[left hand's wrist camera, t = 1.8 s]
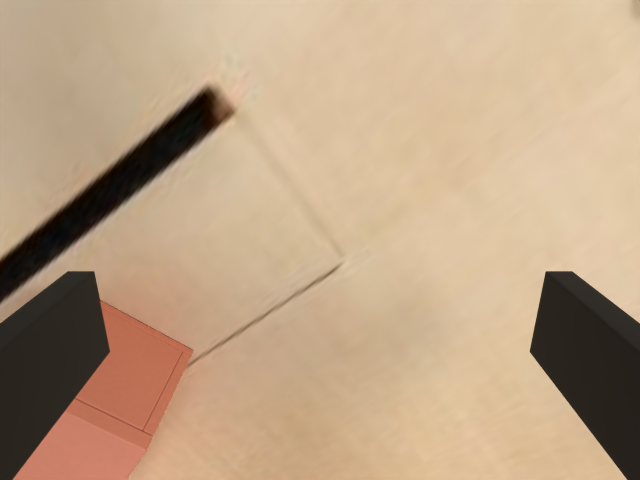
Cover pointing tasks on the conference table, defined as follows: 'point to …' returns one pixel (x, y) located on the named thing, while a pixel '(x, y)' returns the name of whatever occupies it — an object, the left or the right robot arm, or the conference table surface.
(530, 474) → the conference table surface
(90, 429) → the lid
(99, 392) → the chest
